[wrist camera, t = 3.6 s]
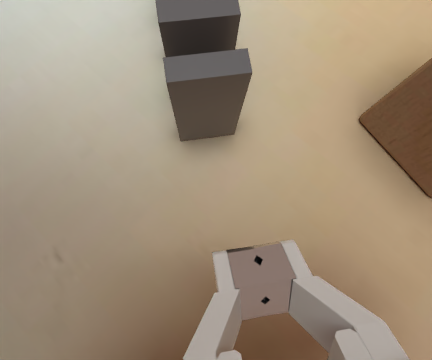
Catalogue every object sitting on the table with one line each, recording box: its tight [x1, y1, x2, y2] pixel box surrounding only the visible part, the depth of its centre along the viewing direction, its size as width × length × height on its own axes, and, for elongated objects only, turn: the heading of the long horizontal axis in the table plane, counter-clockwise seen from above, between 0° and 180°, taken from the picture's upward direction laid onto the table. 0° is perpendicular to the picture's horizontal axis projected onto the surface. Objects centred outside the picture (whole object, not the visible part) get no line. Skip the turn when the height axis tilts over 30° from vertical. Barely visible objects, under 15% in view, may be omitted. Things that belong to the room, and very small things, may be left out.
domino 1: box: [156, 0, 241, 57], centre depth 22 cm, size 2×5×10 cm, turn 99°
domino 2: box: [163, 48, 252, 141], centre depth 21 cm, size 2×5×10 cm, turn 99°
